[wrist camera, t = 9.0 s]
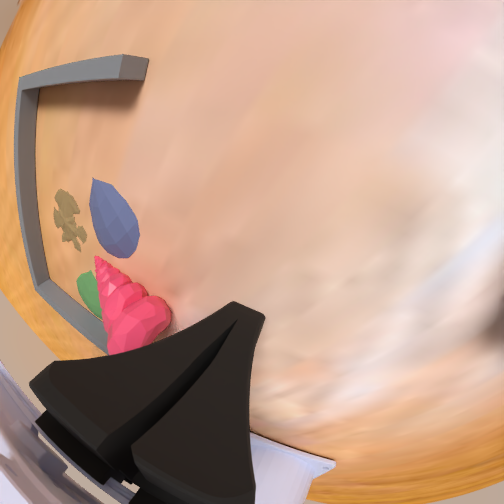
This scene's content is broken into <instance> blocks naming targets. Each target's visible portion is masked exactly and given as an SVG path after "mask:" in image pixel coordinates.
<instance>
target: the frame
mask: <svg viewBox="0 0 504 504" xmlns="http://www.w3.org/2000/svg"><path fill="white" fill-rule="evenodd" d="M148 60H149V59H148V58H143V57H137V56H131V55H124V54H122V55H114V56H106V57H100V58H94V59H88V60H83V61H78V62H73V63H68V64H64V65H60V66H56V67H52V68H48V69H45V70H41V71H38V72H35V73H31V74H28V75H25V76H22V77H19V83H18V91H17V99H16V110H15V126H14V168H15V184H16V195H17V204H18V212H19V219H20V226H21V232H22V237H23V242H24V247H25V252H26V257H27V261H28V265H29V269H30V273H31V277H32V280H33V284H34V287H35V290H36V291H37V292H38V293H39V294H40V296H41V297H42V298H43V299H44V300H45V301H46V302H47V303H48V304H49V305H51V306H52V307H53V308H54V309H55V310H56V311H57V312H58V313H59V314H60V315H61V316H62V317H63V318H64V319H65V320H66V321H68V322H69V323H70V324H71V325H72V326H73V327H74V328H76V329H77V330H78V331H79V332H80V333H81V334H83V335H84V336H85V337H86V338H87V339H89V340H90V341H91V342H92V343H93V344H95V345H96V346H97V347H98V348H100V349H101V350H102V351H104V352H105V353H106V354H107V355H109V353H108V349H107V340H108V333H107V332H106V331H105V329H104V324H103V322H102V321H100V320H99V319H98V318H96V317H95V316H94V315H92V314H91V313H90V312H89V311H87V310H86V309H85V308H84V307H82V306H81V305H80V304H79V303H77V302H76V301H75V300H74V299H72V298H71V297H70V296H69V295H68V294H66V293H65V292H64V291H63V290H62V289H61V288H60V287H58V286H57V285H56V284H55V283H54V282H53V281H52V280H51V279H50V278H49V273H48V269H47V264H46V259H45V254H44V249H43V243H42V237H41V231H40V223H39V215H38V206H37V195H36V179H35V129H36V114H37V103H38V95H39V88H42V87H48V86H55V85H62V84H71V83H81V82H93V81H113V80H144V79H145V74H146V69H147V65H148Z"/></svg>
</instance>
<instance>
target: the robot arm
mask: <svg viewBox="0 0 504 504" xmlns="http://www.w3.org/2000/svg"><path fill="white" fill-rule="evenodd" d="M264 321H265V316H264V314H262V313H260V312H257V311H255V310H253V309H250V308H248V307H246V306H244V305H241V304H239V303H237V302H235V301H233V302H230V303H229V304H227V305H226V306H224V307H223V308H221V309H220V310H218V311H216V312H215V313H213V314H212V315H210V316H208V317H207V318H205V319H203V320H201V321H199V322H198V323H196V324H194V325H192V326H190V327H188V328H186V329H184V330H182V331H180V332H178V333H176V334H174V335H172V336H169V337H167V338H165V339H162V340H160V341H157V342H155V343H152V344H149V345H146V346H143V347H140V348H136V349H133V350H130V351H126V352H122V353H118V354H113V355H108V356H102V357H96V358H90V359H80V360H65V361H54V362H52V363H51V364H50V365H48V366H47V367H46V368H45V369H44V370H42V371H41V372H40V373H39V374H38V375H37V376H36V377H35V378H34V379H32V380H31V381H30V383H29V386H30V388H31V389H32V391H33V392H34V394H35V395H36V396H37V398H38V399H39V400H40V402H41V403H42V404H43V406H44V407H45V408H46V409H47V410H46V411H45V412H44V413H43V414H41V413H40V411H39V410H38V409H37V408H36V407H35V406H34V405H33V403H32V402H31V401H30V400H29V399H28V397H27V396H26V395H25V394H24V392H23V391H22V390H21V389H20V387H19V386H18V385H17V383H16V382H15V381H14V379H13V378H12V377H11V375H10V374H9V372H8V371H7V370H6V368H5V367H4V365H3V363H2V362H1V361H0V504H104V503H102V502H101V501H100V500H98V499H97V498H95V497H94V496H93V495H91V494H90V493H89V492H87V491H86V490H85V489H84V488H82V487H81V486H80V485H79V484H77V483H76V482H75V481H74V480H73V479H71V478H70V477H69V476H68V475H67V474H66V473H65V470H66V469H67V468H68V467H67V465H66V464H65V463H64V462H63V460H62V459H61V458H60V457H59V456H58V455H57V454H56V453H55V452H54V451H53V450H51V449H50V448H49V447H48V446H47V445H46V444H45V443H44V442H43V441H42V440H41V439H40V438H39V437H38V431H39V432H40V433H41V434H42V436H43V437H44V438H45V439H46V440H47V441H48V442H49V443H50V444H51V445H52V446H53V447H54V448H55V449H56V450H57V451H58V452H59V453H60V454H61V455H62V456H63V457H64V458H65V459H66V460H67V461H69V463H71V464H72V465H73V466H74V467H75V468H76V469H77V470H78V471H80V472H81V473H82V474H83V475H84V476H86V477H87V478H88V479H89V480H90V481H92V482H93V483H94V484H95V485H97V486H98V487H99V488H100V489H102V490H103V491H105V492H106V493H107V494H109V495H110V496H112V497H113V498H114V499H116V500H117V501H118V502H120V503H121V504H304V502H305V499H306V496H307V494H308V491H309V488H310V485H311V482H312V480H313V479H314V478H316V477H318V476H320V475H322V474H324V473H326V472H327V471H329V470H331V469H333V468H335V466H336V462H335V461H333V460H329V459H326V458H322V457H319V456H315V455H312V454H309V453H305V452H302V451H299V450H296V449H293V448H290V447H287V446H285V445H282V444H279V443H276V442H274V441H271V440H269V439H266V438H263V437H261V436H258V435H256V434H254V433H251V432H250V425H249V395H250V379H251V369H252V362H253V356H254V350H255V346H256V343H257V340H258V338H259V335H260V332H261V329H262V326H263V323H264ZM123 480H125V481H126V482H128V483H129V484H132V483H134V484H135V485H137V486H139V487H140V488H139V490H138V491H137V493H136V494H135V493H134V492H132V491H130V490H129V489H128V488H126V487H125V486H123V485H122V484H121V483H122V481H123Z"/></svg>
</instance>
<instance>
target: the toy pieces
mask: <svg viewBox="0 0 504 504" xmlns="http://www.w3.org/2000/svg"><path fill="white" fill-rule="evenodd" d="M55 200H56V202H57V203H58V206H59V212H58V211H57V210H56V209H55V207H54V220H55V224H56V226H57V228H59V227H62V229H63V231H64V232H63V235H62V242H65V241H67V242H68V241H71V240H72V241H73V243H74V246H75V248H76V249H77V250H79V251H80V252H81V248H80V244H79V242H78V241H77V238H76V237H77V236H78V237H79V239H80V240H81V241H82V242H83V243H85V242H86V238H87V234H86V232H85V230H84V228H83V226H78V228H76V223H75V217H73V214H79V213H80V210H79V208H78V205H77V203H76V201H75V200H74V198H73V197H72V196H71V195H70V194H69V193H68V192H66V191H64V190H62V189H59V190H58V191H57V193H56V195H55ZM89 206H90V211H91V216H92V222H93V227H94V230H95V233H96V236H97V239H98V241H99V243H100V244H101V245H102V247H103V248H104V249H105V250H106V251H107V253H109V254H111V255H113V256H115V257H117V258H129V257H130V256H131V255H132V254H133V252H134V251H135V250H136V248H137V244H138V240H139V236H140V233H139V227H138V220H137V218H136V216H135V214H134V213H133V211H132V209H131V208H130V206H129V205H128V203H127V202H126V200H125V199H124V198H123V197H122V196H121V195H120V194H119V193H118V192H117V190H116V189H115V188H114V187H113V186H112V185H111V184H108V183H105V182H102V181H99V180H95V179H94V178H93V183H92V188H91V195H90V203H89ZM94 258H95V266H96V270H95V272H96V273H97V274H96V279H97V281H96V279H95V277H94V276H93V274H92V272H91V270H90V271H89V272H87V273H83V274H81V275H80V276H79V277H78V279H77V286H78V291H79V293H80V295H81V297H82V299H83V301H84V303H85V304H86V305H87V307H88V308H89V309H90V310H91V311H92V312H93V313H94V314H95V315H96V316H97V317H99V318H100V319H102V320H103V324H104V329H105V331H106V332H107V333H108V340H107V349H108V353H109V355H113V354H118V353H122V352H126V351H130V350H133V349H136V348H140V347H143V346H146V345H149V344H151V343H152V342H153V340H154V339H155V338H156V337H157V335H158V334H159V333H160V332H162V331H163V330H165V328H166V327H167V326H168V325H169V324H170V322H171V311H170V309H169V308H168V306H167V304H166V303H165V301H164V300H163V299H161V298H159V297H157V296H148V295H147V292H146V290H145V288H144V287H143V286H142V285H140V284H138V283H132V281H131V279H130V278H129V277H128V276H127V275H125V274H123V273H120V271H119V270H118V269H117V268H114V267H113V266H112V265H111V264H109V263H107V261H104V260H103V259H102V258H100V257H99V256H95V257H94Z"/></svg>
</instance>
